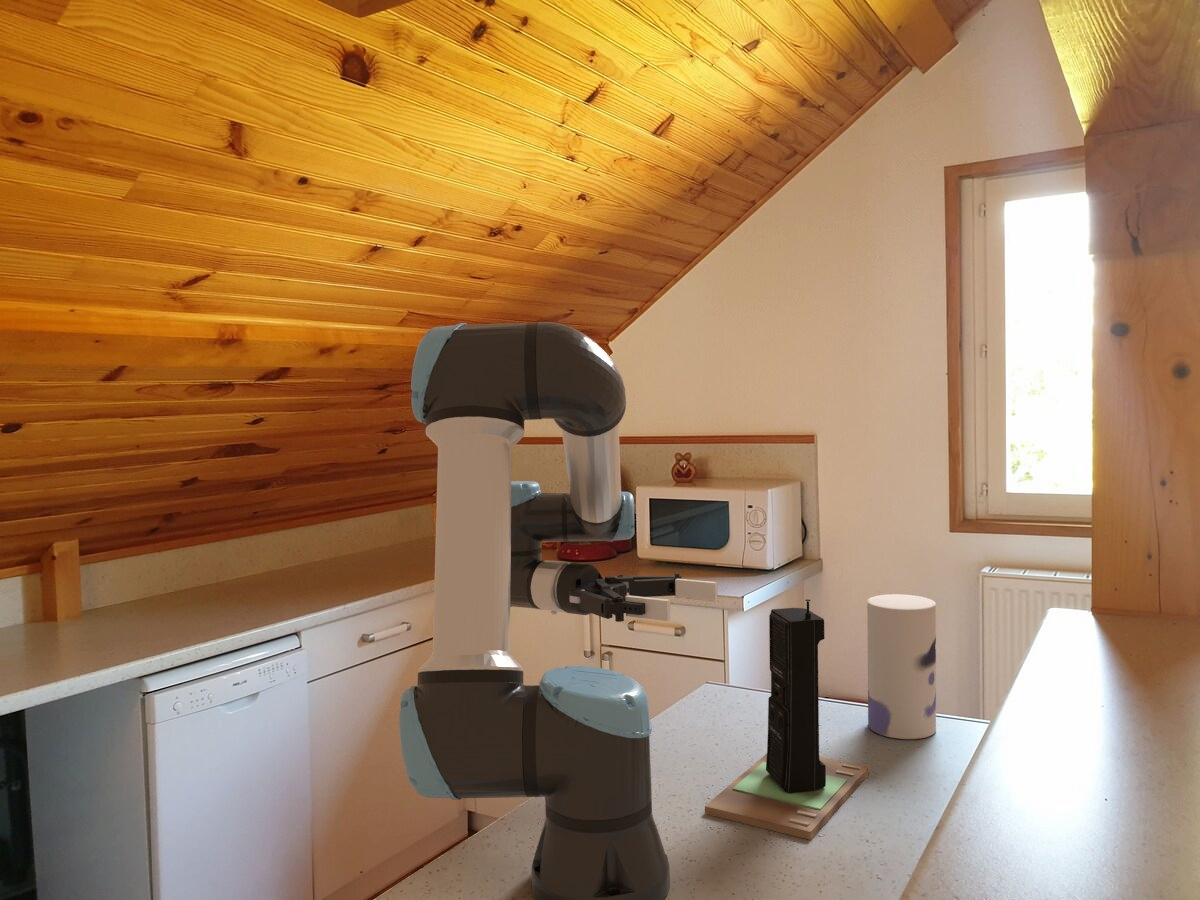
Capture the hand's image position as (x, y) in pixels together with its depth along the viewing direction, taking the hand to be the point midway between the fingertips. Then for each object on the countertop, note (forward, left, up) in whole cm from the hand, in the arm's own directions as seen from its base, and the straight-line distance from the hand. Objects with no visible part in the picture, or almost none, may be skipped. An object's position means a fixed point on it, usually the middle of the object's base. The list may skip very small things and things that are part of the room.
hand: (693, 600), depth 134 cm
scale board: (0, -14, -24) cm, 28 cm away
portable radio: (+1, -14, -23) cm, 27 cm away
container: (+30, -20, -24) cm, 43 cm away
